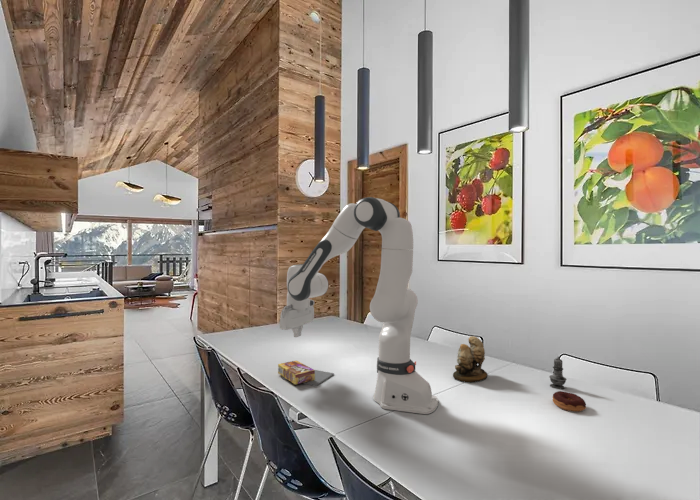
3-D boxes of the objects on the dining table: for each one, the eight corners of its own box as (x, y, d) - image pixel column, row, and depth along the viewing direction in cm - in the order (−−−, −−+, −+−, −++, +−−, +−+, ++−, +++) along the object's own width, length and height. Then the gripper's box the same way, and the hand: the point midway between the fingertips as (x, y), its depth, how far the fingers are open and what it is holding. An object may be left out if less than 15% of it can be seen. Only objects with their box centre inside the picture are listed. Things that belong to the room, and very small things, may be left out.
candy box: (277, 374, 151) (294, 385, 139) (277, 363, 151) (294, 373, 139) (296, 370, 156) (315, 380, 144) (296, 360, 156) (315, 369, 144)
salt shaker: (551, 382, 147) (552, 353, 147) (568, 387, 142) (569, 356, 142) (546, 386, 143) (547, 356, 142) (563, 391, 138) (564, 359, 138)
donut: (586, 416, 118) (587, 404, 118) (552, 409, 123) (552, 397, 123) (584, 404, 127) (585, 393, 127) (552, 398, 132) (552, 387, 132)
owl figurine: (468, 368, 164) (470, 330, 163) (494, 375, 155) (495, 335, 155) (446, 377, 151) (447, 336, 151) (472, 385, 143) (473, 342, 142)
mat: (334, 374, 152) (334, 373, 152) (316, 386, 140) (316, 384, 140) (301, 368, 159) (301, 367, 159) (282, 378, 147) (282, 377, 147)
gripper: (288, 307, 141) (288, 343, 141) (316, 300, 159) (316, 332, 159) (275, 306, 144) (275, 341, 144) (304, 299, 162) (304, 330, 162)
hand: (297, 336), depth 152 cm, fingers closed
